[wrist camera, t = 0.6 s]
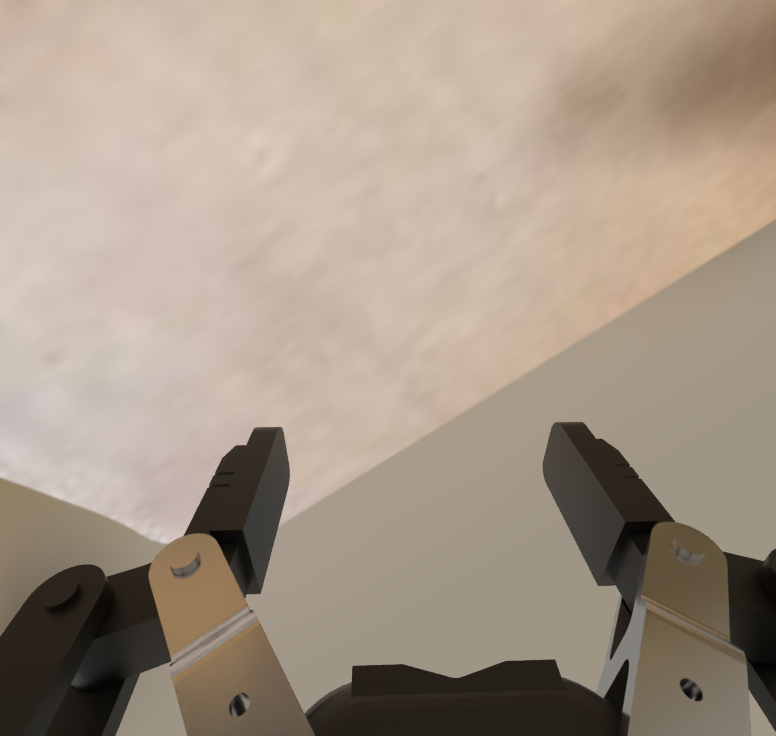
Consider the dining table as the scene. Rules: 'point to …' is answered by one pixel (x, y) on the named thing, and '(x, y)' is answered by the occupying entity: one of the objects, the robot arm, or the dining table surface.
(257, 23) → the dining table surface
